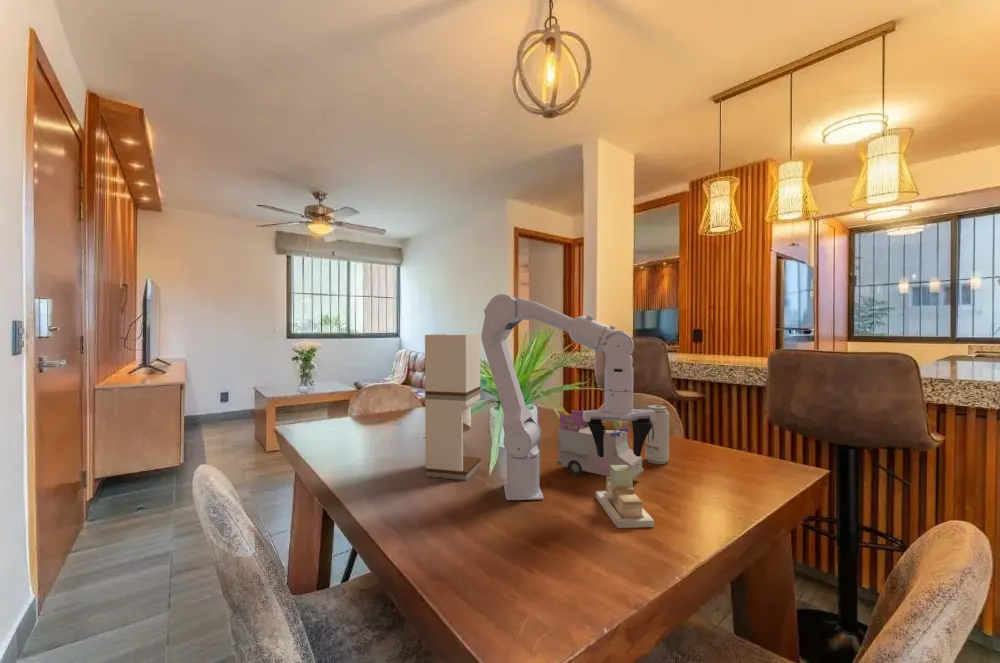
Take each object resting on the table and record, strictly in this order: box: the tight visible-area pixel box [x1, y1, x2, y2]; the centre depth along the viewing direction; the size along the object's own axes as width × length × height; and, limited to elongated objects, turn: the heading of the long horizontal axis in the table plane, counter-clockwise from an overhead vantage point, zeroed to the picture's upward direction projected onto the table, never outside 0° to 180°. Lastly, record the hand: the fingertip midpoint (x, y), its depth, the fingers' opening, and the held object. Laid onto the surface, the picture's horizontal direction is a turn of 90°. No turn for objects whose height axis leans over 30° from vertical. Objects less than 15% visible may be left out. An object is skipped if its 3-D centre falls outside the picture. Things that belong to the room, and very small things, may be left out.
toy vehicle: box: [556, 409, 645, 481], centre depth 106 cm, size 9×20×15 cm, turn 53°
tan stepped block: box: [605, 476, 643, 518], centre depth 86 cm, size 11×4×5 cm, turn 3°
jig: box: [595, 490, 655, 529], centre depth 86 cm, size 14×7×1 cm, turn 3°
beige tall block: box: [424, 333, 482, 481], centre depth 110 cm, size 11×11×35 cm
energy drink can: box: [644, 404, 670, 465], centre depth 117 cm, size 6×6×15 cm
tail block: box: [609, 465, 634, 490], centre depth 88 cm, size 4×4×4 cm
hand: (618, 455), depth 89 cm, fingers open, 7 cm apart
